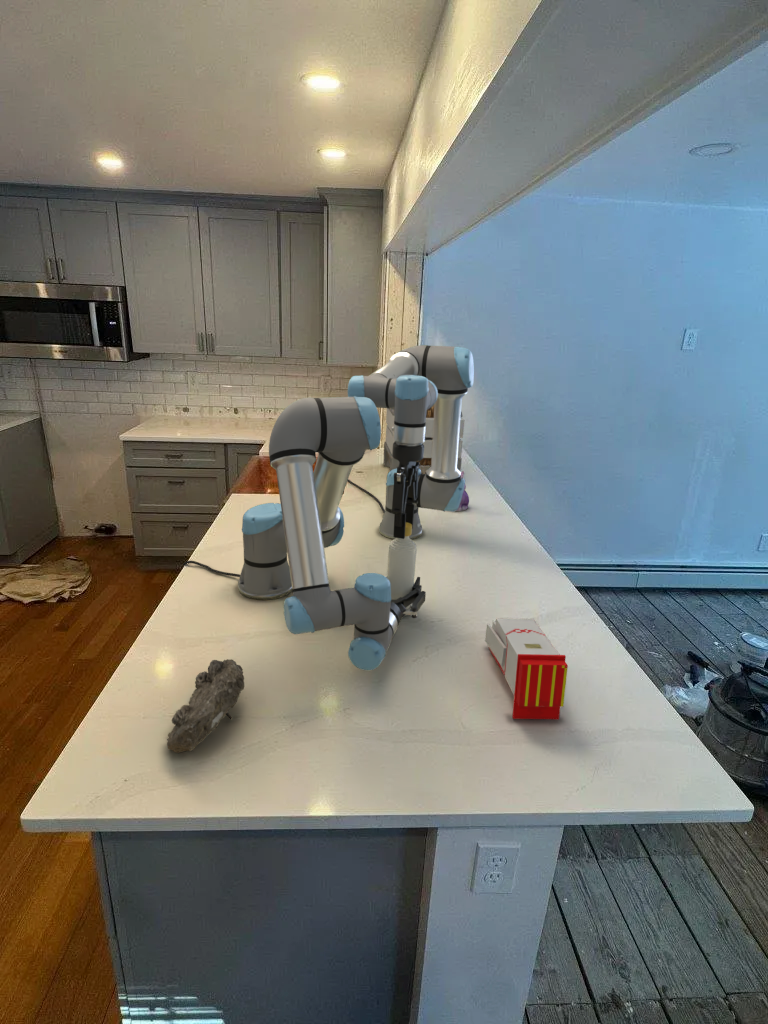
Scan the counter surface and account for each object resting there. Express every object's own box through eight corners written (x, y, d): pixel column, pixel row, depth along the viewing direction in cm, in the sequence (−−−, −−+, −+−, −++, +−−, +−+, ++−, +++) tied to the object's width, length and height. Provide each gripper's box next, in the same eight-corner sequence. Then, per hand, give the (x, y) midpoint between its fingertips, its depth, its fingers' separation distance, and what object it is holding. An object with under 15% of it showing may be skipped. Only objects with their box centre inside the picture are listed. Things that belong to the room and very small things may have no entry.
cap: (403, 537, 140) (404, 529, 139) (391, 532, 142) (392, 524, 142) (414, 533, 143) (415, 525, 142) (403, 529, 145) (403, 520, 144)
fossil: (192, 660, 117) (244, 628, 112) (224, 691, 120) (276, 661, 115) (142, 746, 98) (202, 712, 93) (182, 779, 101) (242, 748, 96)
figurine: (455, 513, 222) (459, 476, 217) (441, 505, 231) (444, 469, 226) (475, 510, 226) (479, 474, 221) (460, 502, 235) (464, 467, 230)
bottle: (397, 600, 155) (401, 520, 147) (417, 609, 150) (423, 527, 142) (380, 609, 149) (383, 526, 141) (400, 619, 145) (405, 534, 137)
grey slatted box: (382, 463, 289) (386, 382, 275) (445, 464, 293) (451, 384, 279) (390, 482, 257) (394, 392, 243) (460, 483, 261) (468, 394, 247)
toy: (531, 603, 136) (576, 661, 106) (526, 655, 139) (569, 725, 109) (481, 602, 135) (512, 660, 106) (477, 654, 138) (507, 724, 109)
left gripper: (341, 628, 135) (368, 585, 156) (423, 643, 130) (440, 597, 151) (341, 600, 132) (369, 561, 153) (426, 614, 128) (442, 572, 149)
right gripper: (405, 433, 144) (400, 518, 152) (380, 449, 127) (376, 543, 135) (434, 436, 142) (427, 522, 150) (412, 453, 125) (406, 549, 133)
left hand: (404, 579), depth 152 cm, fingers closed on bottle, 7 cm apart
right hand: (403, 532), depth 142 cm, fingers open, 6 cm apart
